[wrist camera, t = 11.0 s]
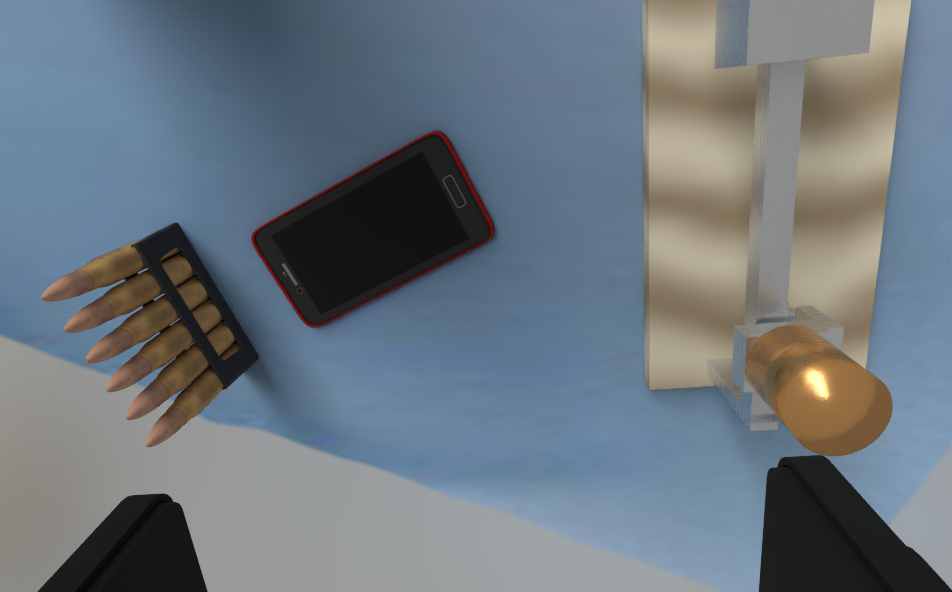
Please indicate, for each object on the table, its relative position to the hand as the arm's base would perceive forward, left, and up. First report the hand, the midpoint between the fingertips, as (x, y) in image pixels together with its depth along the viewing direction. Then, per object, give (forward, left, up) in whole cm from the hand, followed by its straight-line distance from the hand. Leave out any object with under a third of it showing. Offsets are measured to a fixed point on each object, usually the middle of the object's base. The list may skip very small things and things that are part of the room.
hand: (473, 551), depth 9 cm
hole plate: (+1, +17, -30) cm, 35 cm away
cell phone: (+1, -8, -31) cm, 32 cm away
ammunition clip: (+4, -20, -31) cm, 37 cm away
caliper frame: (0, +14, -29) cm, 32 cm away
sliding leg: (+7, +15, -28) cm, 33 cm away
